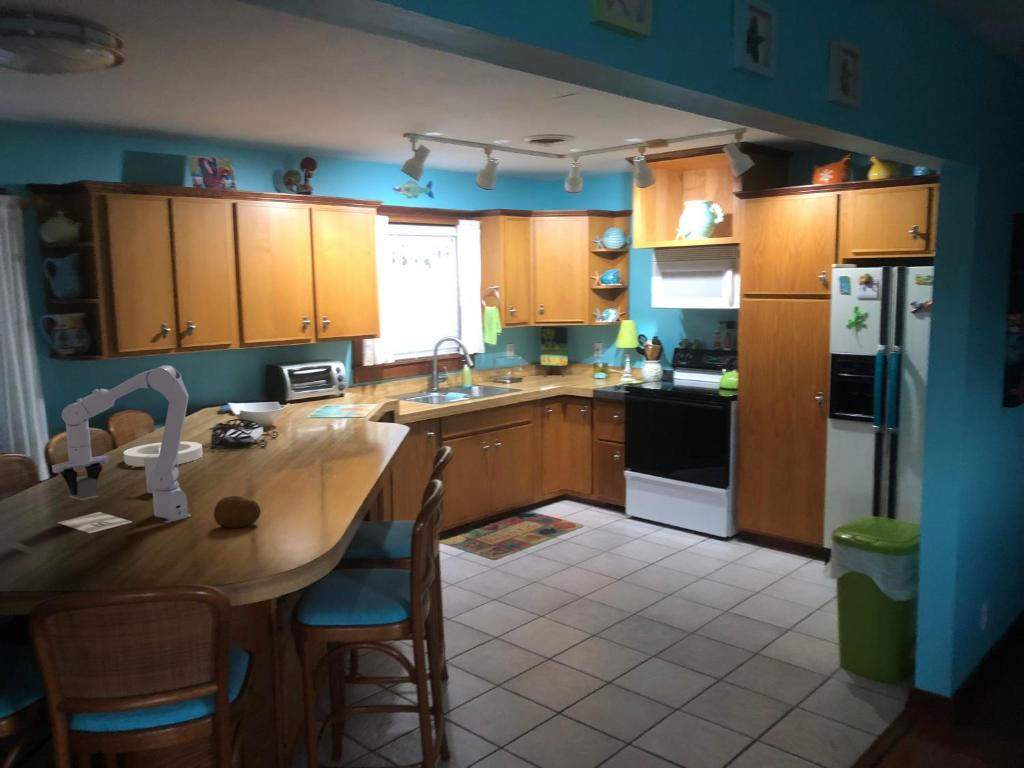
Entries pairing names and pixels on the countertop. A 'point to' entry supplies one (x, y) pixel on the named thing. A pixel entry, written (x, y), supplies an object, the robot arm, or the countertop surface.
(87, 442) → the robot arm
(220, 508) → the potato
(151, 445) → the white flat ring
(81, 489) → the block
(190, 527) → the countertop surface
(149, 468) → the skincare box
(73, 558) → the countertop surface
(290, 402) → the countertop surface
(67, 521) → the board
